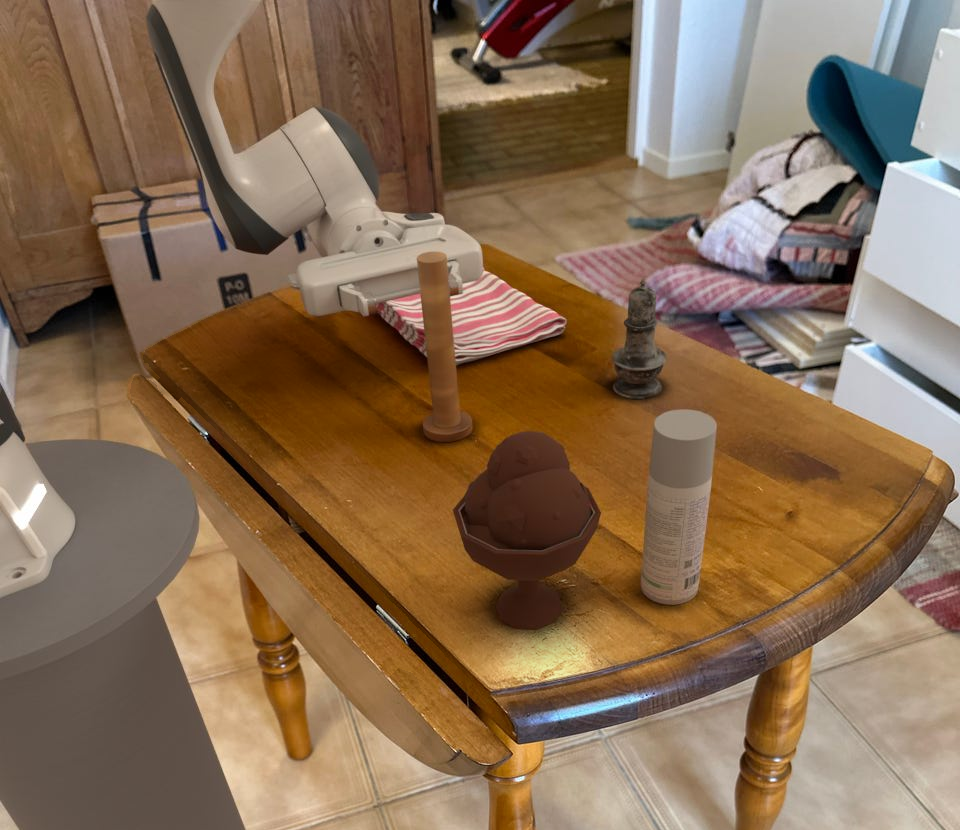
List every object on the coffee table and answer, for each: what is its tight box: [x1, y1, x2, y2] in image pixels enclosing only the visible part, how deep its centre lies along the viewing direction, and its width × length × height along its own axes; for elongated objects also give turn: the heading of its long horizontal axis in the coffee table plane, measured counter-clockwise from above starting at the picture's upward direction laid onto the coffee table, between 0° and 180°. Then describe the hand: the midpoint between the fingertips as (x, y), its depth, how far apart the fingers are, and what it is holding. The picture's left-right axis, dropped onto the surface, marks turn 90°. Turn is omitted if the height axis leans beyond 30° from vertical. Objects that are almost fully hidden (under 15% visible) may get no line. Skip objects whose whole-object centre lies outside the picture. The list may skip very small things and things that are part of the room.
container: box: [640, 408, 718, 606], centre depth 71 cm, size 5×5×15 cm
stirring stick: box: [417, 252, 474, 443], centre depth 92 cm, size 5×5×18 cm
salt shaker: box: [611, 278, 668, 400], centre depth 98 cm, size 6×6×12 cm
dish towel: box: [376, 267, 567, 367], centre depth 117 cm, size 17×23×4 cm
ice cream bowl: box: [452, 430, 602, 630], centre depth 71 cm, size 11×11×15 cm
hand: (413, 298), depth 95 cm, fingers open, 8 cm apart
